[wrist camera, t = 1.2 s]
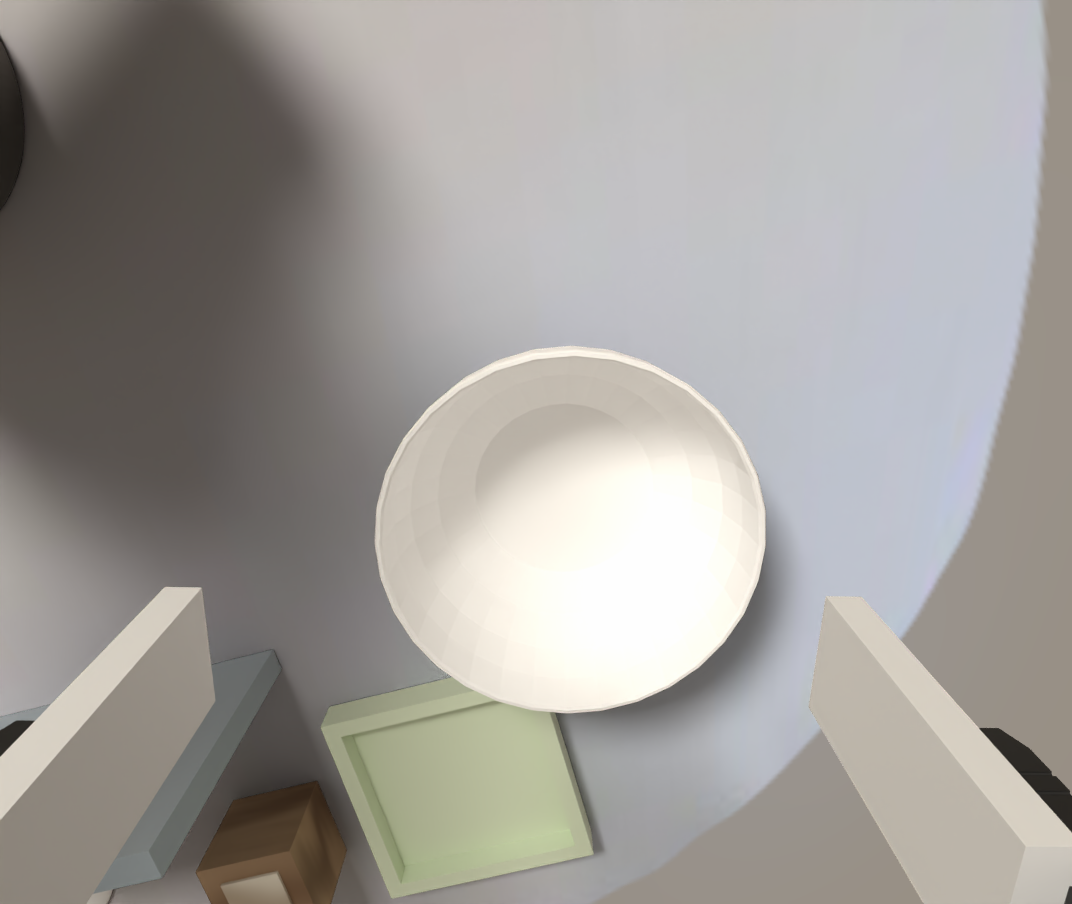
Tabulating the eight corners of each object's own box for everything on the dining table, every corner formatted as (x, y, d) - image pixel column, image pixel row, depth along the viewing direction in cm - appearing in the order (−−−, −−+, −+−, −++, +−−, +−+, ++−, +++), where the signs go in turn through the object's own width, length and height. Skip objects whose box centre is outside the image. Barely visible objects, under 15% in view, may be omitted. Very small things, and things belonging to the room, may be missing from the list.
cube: (233, 799, 51) (194, 875, 45) (317, 779, 50) (288, 853, 44) (265, 867, 52) (231, 949, 46) (347, 849, 52) (323, 929, 46)
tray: (329, 706, 49) (320, 727, 47) (538, 656, 48) (538, 675, 46) (396, 873, 52) (391, 898, 50) (591, 830, 51) (593, 854, 49)
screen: (-6, 739, 49) (-250, 971, 34) (-17, 720, 49) (-269, 946, 33) (281, 669, 48) (162, 878, 32) (273, 649, 47) (148, 851, 32)
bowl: (560, 682, 48) (565, 778, 40) (337, 485, 44) (292, 544, 36) (788, 487, 44) (848, 547, 36) (568, 252, 41) (576, 259, 32)
